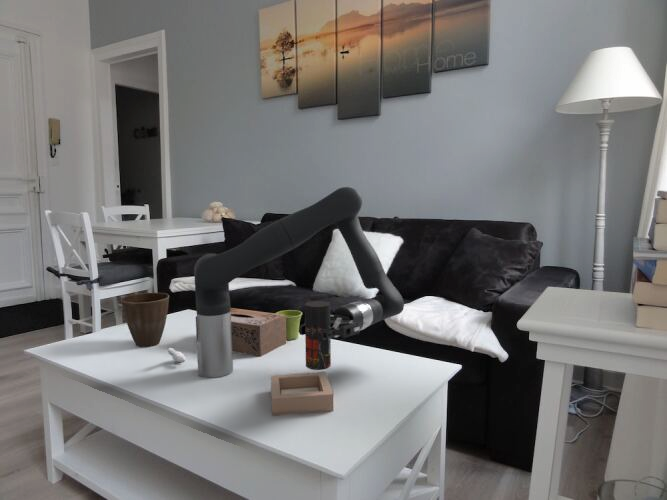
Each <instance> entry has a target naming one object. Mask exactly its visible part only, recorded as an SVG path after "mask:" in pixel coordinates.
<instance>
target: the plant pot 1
mask: <svg viewBox="0 0 667 500" xmlns="http://www.w3.org/2000/svg"><path fill="white" fill-rule="evenodd" d="M169 301H170V295H169V293H164V292H145V293H136V294H130V295H126V296H124V297H122V298H121V299H120V302H121V307H122V310H123V315H124V319H125V322H126V325H127V328H128V330H129V333H130V335H131V337H132V340H133V341H134V344H135V346H136V347H139V348H150V347H156V346H157V345H159V344H160V343H161V340H162V337H163V335H164V334H163V333H164V331H165V326H166V322H167V317H168V312H169Z"/></svg>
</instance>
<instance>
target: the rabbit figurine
mask: <svg viewBox="0 0 667 500" xmlns="http://www.w3.org/2000/svg"><path fill="white" fill-rule="evenodd" d="M167 353H168V354H169V356H171V357H172V360H173V361H174V362H177V363H174V366H181V363H184V362H186V358H185V355H184V354H183V352H181V351H177V350H175V349H174V348H172V347H169V348H168V349H167Z"/></svg>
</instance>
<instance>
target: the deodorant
mask: <svg viewBox="0 0 667 500" xmlns="http://www.w3.org/2000/svg"><path fill="white" fill-rule="evenodd" d="M330 315H331V303H330V302H328V301H322V300H314V301H308V302H306V303H304V324H305V334H304V336H305V338H304V339H305V367H306V368H307V369H309V370H313V371H321V370H322V371H323V370H327V369H329V368H331V364H332V363H331V361H332V360H331V358H332V356H331V345H332V344H331V338H332V337H331V338H328V339H326V340H321V331H322V330H324V329H327V328H329V327H330Z"/></svg>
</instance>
